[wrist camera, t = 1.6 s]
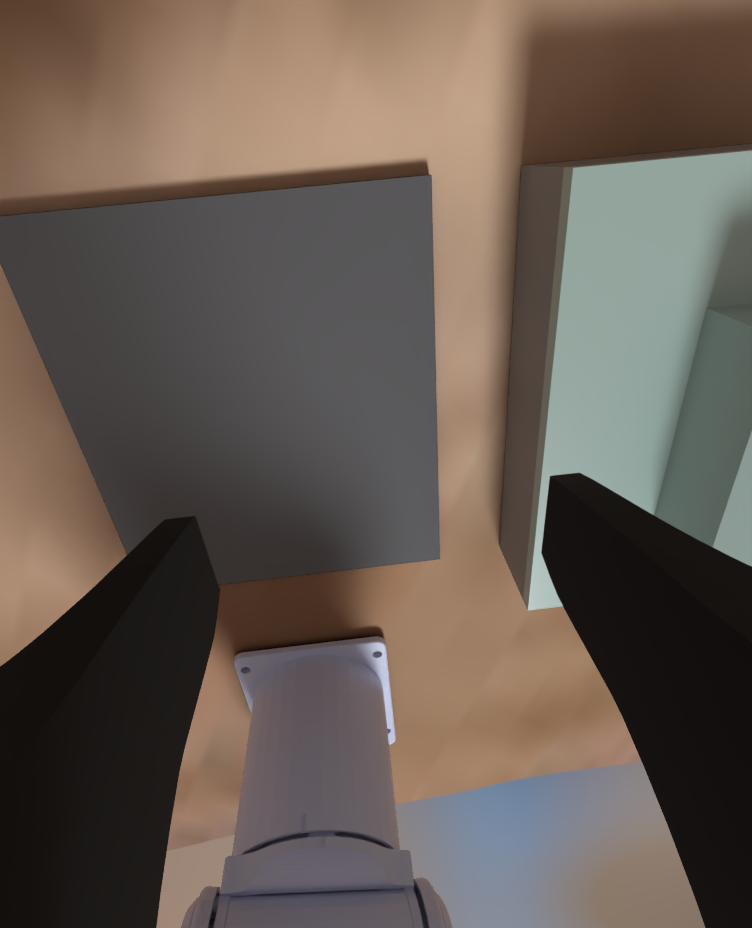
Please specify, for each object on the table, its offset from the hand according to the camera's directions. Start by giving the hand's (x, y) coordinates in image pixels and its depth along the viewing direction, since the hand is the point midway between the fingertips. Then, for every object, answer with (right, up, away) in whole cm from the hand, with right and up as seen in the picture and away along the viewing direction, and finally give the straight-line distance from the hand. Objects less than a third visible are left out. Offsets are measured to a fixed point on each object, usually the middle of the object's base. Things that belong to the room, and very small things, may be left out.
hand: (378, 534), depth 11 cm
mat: (-5, +3, +10) cm, 11 cm away
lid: (+12, +3, +8) cm, 14 cm away
